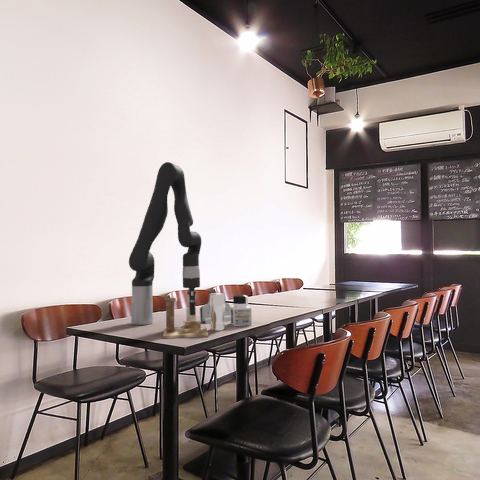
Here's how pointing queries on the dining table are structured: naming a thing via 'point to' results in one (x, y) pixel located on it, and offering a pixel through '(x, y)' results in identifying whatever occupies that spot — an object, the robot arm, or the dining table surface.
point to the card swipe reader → (207, 318)
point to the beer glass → (217, 311)
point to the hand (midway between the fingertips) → (192, 313)
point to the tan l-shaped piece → (188, 326)
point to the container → (240, 311)
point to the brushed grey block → (190, 317)
